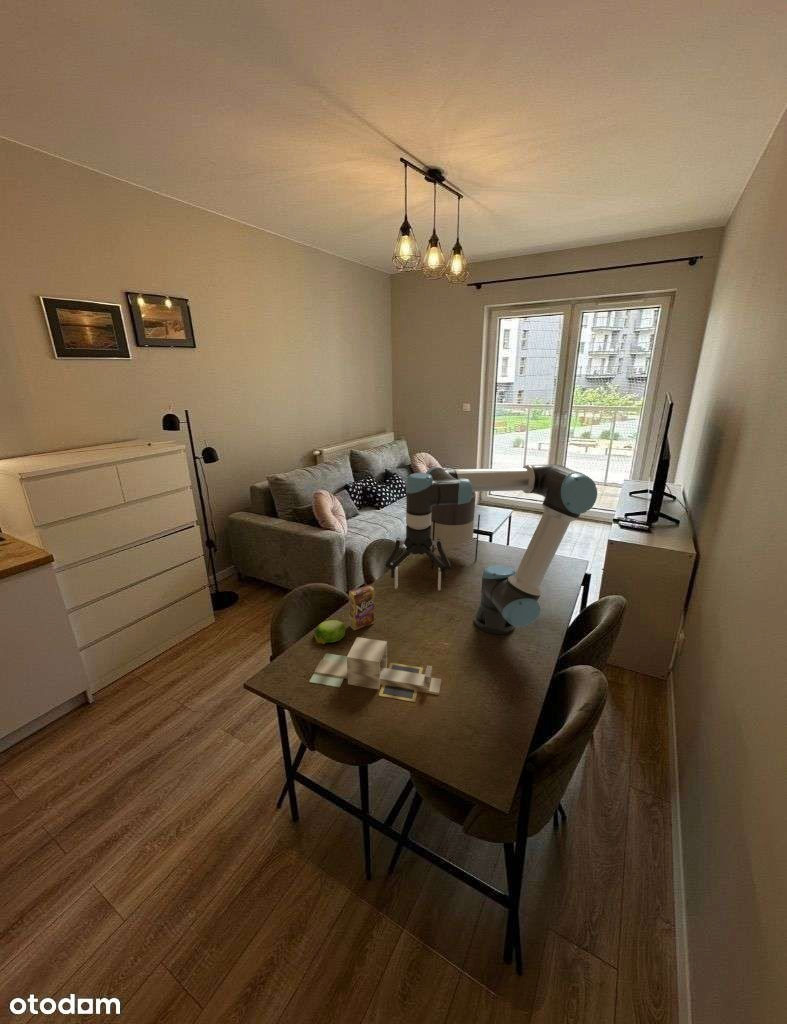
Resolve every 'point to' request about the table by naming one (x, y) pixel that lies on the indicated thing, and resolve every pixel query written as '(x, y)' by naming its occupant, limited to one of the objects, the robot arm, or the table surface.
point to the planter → (454, 523)
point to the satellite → (368, 671)
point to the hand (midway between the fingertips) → (417, 587)
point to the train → (407, 677)
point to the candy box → (361, 607)
